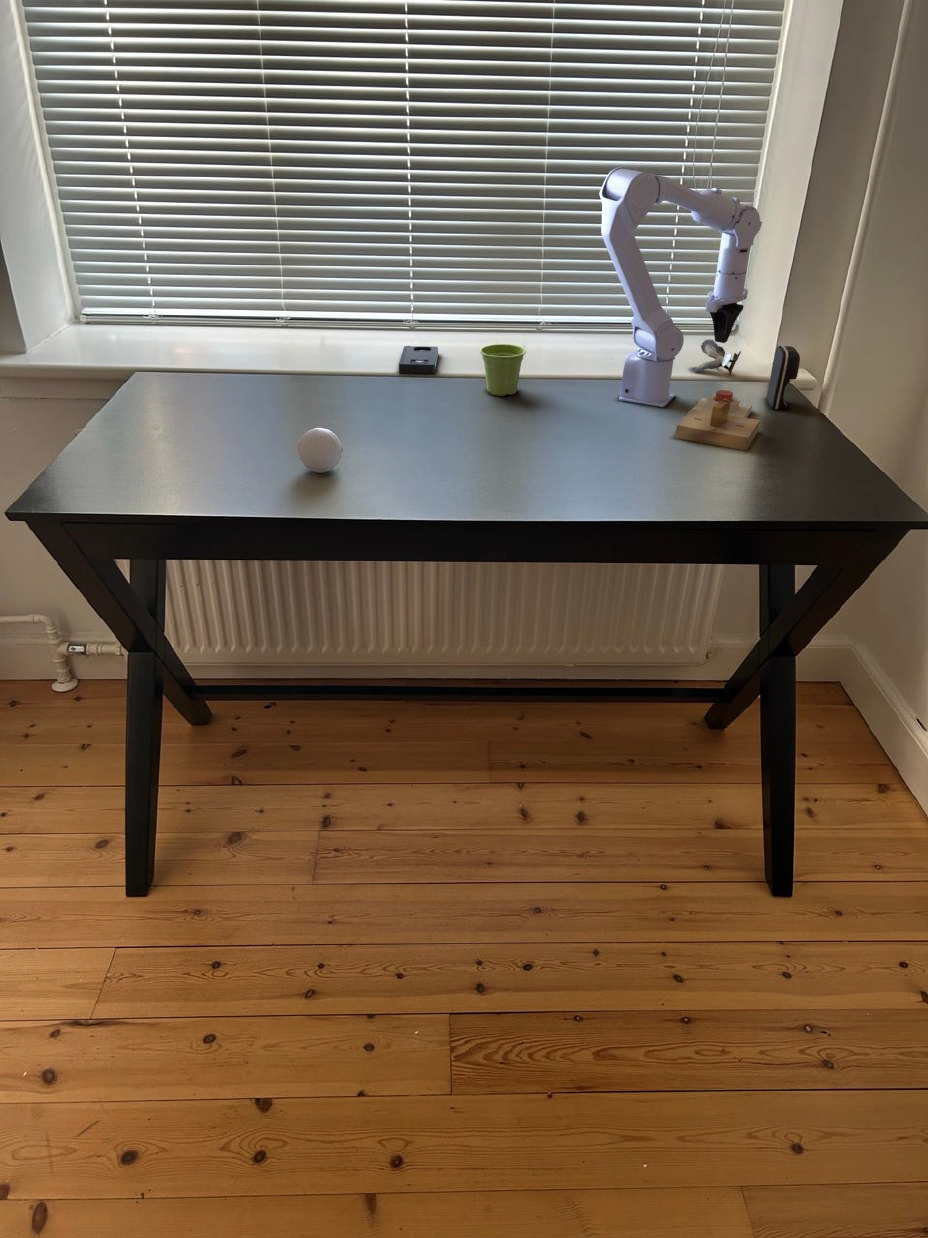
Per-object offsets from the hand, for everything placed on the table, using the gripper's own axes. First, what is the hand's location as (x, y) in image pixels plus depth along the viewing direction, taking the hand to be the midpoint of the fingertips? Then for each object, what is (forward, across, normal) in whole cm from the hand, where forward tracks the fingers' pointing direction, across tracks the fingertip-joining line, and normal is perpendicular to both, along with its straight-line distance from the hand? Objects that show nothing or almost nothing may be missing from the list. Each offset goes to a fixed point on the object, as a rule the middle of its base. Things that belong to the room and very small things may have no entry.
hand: (720, 341), depth 180 cm
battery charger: (+11, -1, +14) cm, 18 cm away
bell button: (+8, +12, +8) cm, 16 cm away
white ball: (+10, +81, -33) cm, 88 cm away
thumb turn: (+8, +23, +12) cm, 27 cm away
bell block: (+10, +12, +8) cm, 18 cm away
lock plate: (+10, +23, +12) cm, 28 cm away
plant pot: (+10, +29, -34) cm, 46 cm away
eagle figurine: (+11, -13, -6) cm, 18 cm away
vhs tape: (+10, +26, -60) cm, 66 cm away
